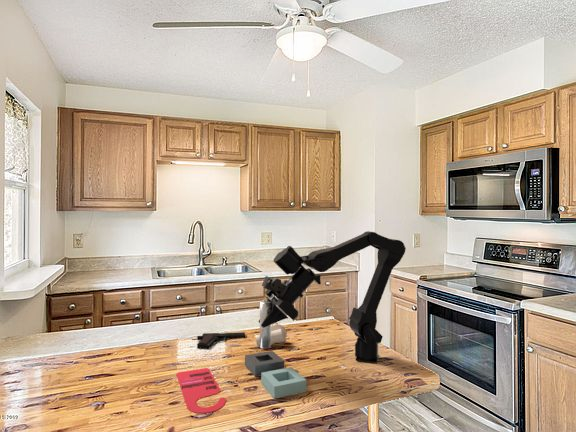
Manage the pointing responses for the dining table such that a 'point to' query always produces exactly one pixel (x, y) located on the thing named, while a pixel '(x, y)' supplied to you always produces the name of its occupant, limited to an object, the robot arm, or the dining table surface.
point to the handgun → (216, 338)
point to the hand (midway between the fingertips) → (260, 324)
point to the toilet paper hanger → (275, 334)
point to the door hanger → (199, 389)
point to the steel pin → (266, 331)
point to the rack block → (283, 382)
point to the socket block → (263, 362)
